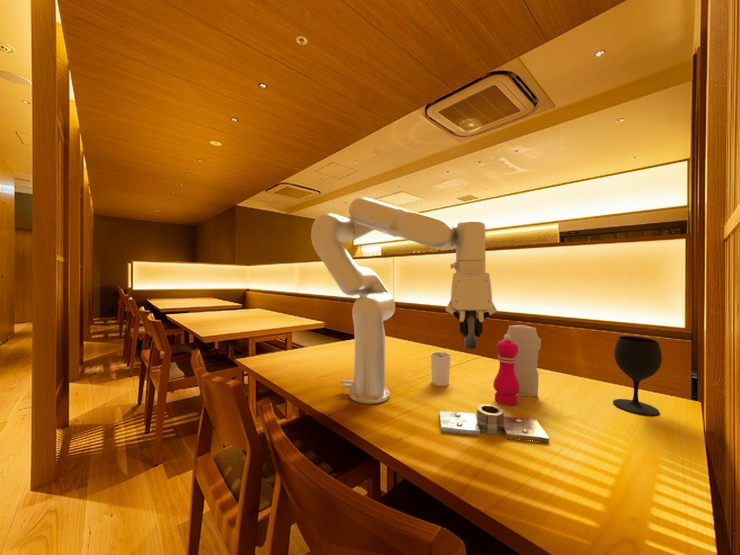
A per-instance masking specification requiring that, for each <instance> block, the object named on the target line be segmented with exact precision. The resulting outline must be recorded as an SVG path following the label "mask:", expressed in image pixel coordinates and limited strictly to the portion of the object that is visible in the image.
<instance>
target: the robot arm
mask: <svg viewBox="0 0 740 555" xmlns="http://www.w3.org/2000/svg"><path fill="white" fill-rule="evenodd" d="M348 207H349V208H348V214H349V216H347V217H346V216H342V215H339V214H335V213H330V212H329V213H328V212H327V213H322V214H320V215H318V216H317V217H316V218H315V219H314V221H313V223H312V225H311V231H310V232H311V234H310V237H311V238H310V239H311V243H312V247H313V249H314V251H315V252H316V254H317V255H318V257H319V258H320V260H321V261H322V262H323V264H324V266H325V267H326V268H327V270H328V273H330V275H331V277H332V278H333V279H334V281H335V283H336V284H337V286H338V287H339V289H340V291H341V292H342V293H343V294H345V295H347V296H349V297H352V296H359V297H358V298H356V300H355V302H353V306H352V310H351V313H352V315H351V316H352V321H353V330H354V364H353V366H354V376H353V378H354V379H353V378H352V379H349V380H348V379H341V382H340V384H341V385H340V386H342V389H349V392H348V396H349V398H350V399H351V400H353V401H354V402H357V403H360V404H368V405H369V404H379V403H384V402H385V401H388V399H389V398H390V395H391V392H390V390H389V388H387V387H386V333H385V332H386V331H385V326H384V321H387V320H389V319H390V318H392V316H393V315H394V314H395V311H396V303H395V299H394V298H393V296H392V294H391V293H390V292H389V290H388V289H387V287H386V286H385V284H384V283H383V282H382V279H381V278H380V277H379V276H378V274H377V273H376V272H375V271H374V270H373V269H371V268H370V267H369V266H368V267H367V266H365V265H359V264H357V263H356V261H355V260H354V259H353V257H352V256H351V254H350V253H349V252H348V250H347V248H345V247H344V246H343V245H342V243H350V242H353V241H356V240H357V239H360V238H361V237H363V236H366V235H367V234H369V233H371V232H373V231H377V232H380V233H383V234H386V235H390V236H392V237H397V238H398V237H399V238H402V239H405V240H408V241H411V242H414V243H417V244H420V245H423V246H426V247H428V248H430V249H435V250H438V251H449V250H455V262H453V263H450V269H453V270H455V272H453V274H452V280H451V288H450V289H451V290H450V300H449V302H448V304H447V305H446V307H445V311H446V313H448V314H451V315H453V316H454V317H455V318H456V319H457V320H459V321H458V322H459V333H460V334H461V335H462V337H463V338H465V337H466V322H465V311H477V338H481V335H482V334H483V322H485V320H486V319H487V318H488V317H489V316H490V315H493V314H495V313H497V312H498V311H497V307H496V306H495V305H494V302H493V293H492V291H493V290H492V283H491V277H490V272H486V225H485V223H484V222H483V221H481V220H474V219H473V220H464V221H460V222H458V223H456V224H450V223H448V222H447V221H446V220H445V221H444V220H443V219H440V218H437V217H434V216H431V215H426V214H424V213H423V214H422V213H420V212H416V211H411V210H409V209H406V208H403V207H400V206H396V205H394V204H393V205H392V204H389V203H386V202H382V201H379V200H376V199H373V198H369V197H365V196H364V197H363V196H361V197H357V198H355V199H353V200H352V201H351V203H350V205H349V206H348Z"/></svg>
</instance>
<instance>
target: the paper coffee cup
mask: <svg viewBox="0 0 740 555" xmlns="http://www.w3.org/2000/svg"><path fill="white" fill-rule="evenodd" d="M451 355H452V354H450V352H445V351H433V352H431V353H430V363H431V364H430V366H431V367H430V368H431V370H430V371H431V383H432V385H434V386H437V387H438V386H439V387H445V386H446V387H447V386H449V384H450V373H451V372H450V370H451V369H450V368H451V357H452V356H451Z"/></svg>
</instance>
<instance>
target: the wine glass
mask: <svg viewBox="0 0 740 555" xmlns="http://www.w3.org/2000/svg"><path fill="white" fill-rule="evenodd" d="M660 345H661V344H660V342H659V341H658V340H656V339H652V338H649V337H648V338H647V337H641V336H632V335H619V336H618V338H617V340H616V342H615V346H614V351H613V352H614V354H613V355H614V362H615V363H616V365H617V366H618V368H619V369H620V370H621V372H623V373H624V374H625V375H626V376H627V377H629V378H630V379H631V380H632V382H633V383H632V384H633V395H632V396H633V398H632V399H627V398H626V399H625V398H617V399H616V398H615V399H613V400H612V403H613V406H615V407H616V408H618V409H620V410H622V411H625V412H628V413H631V414H634V415H635V414H636V415H639V416H646V417H655V416H659V415H660V410H659V409H658V408H656V407H655V406H653V405H650V404H648V403H646V402H641V401H640V400H639V385H640V382H641V381H644V380H646V379H648V378H651V377H652V376H654V375H655V374H656V373H657V372H658V371H659V370H660V368H661V365H662V362H663V361H662V360H663V354H662V348H661V346H660Z"/></svg>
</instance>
